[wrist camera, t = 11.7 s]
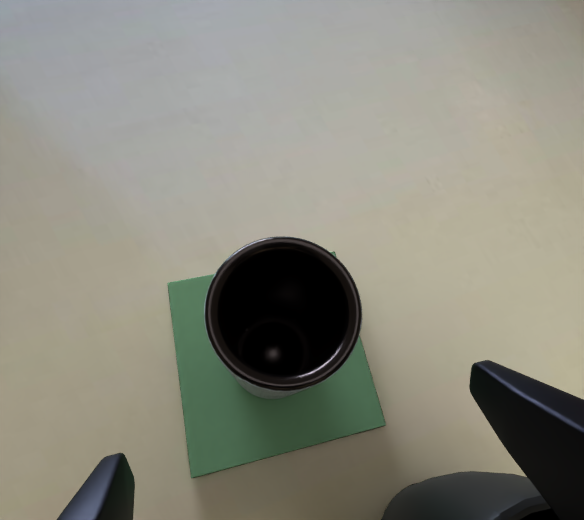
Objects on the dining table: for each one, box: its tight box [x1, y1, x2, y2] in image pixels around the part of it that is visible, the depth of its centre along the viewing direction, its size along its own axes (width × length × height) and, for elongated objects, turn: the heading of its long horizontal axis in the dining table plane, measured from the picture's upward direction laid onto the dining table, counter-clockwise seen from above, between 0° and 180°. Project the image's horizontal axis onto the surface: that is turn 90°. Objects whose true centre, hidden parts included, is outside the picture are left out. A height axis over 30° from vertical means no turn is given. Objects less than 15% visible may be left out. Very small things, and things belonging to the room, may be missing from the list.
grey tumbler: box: [204, 237, 362, 399], centre depth 15 cm, size 4×4×10 cm
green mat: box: [168, 252, 386, 478], centre depth 20 cm, size 10×10×1 cm
